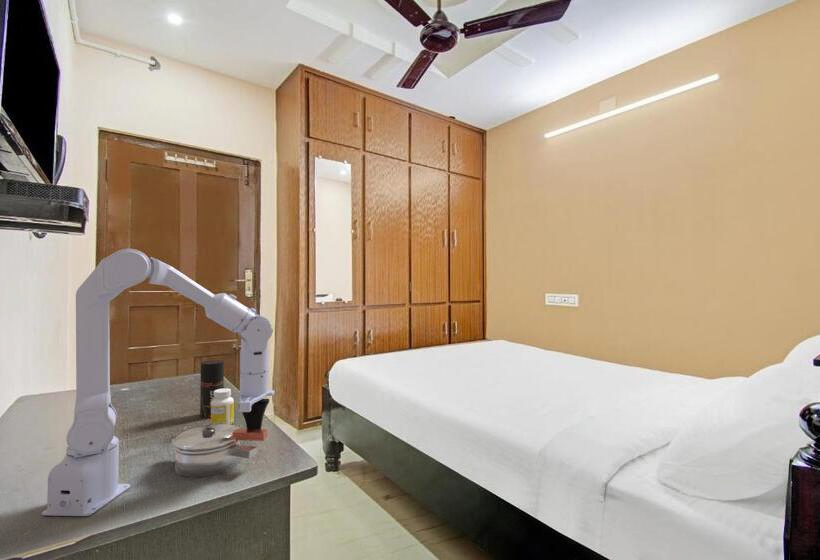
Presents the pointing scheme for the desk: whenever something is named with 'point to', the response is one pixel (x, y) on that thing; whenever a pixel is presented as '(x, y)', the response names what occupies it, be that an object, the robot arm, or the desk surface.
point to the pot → (210, 459)
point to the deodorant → (210, 384)
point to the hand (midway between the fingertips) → (254, 435)
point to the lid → (216, 437)
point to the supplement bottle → (222, 407)
